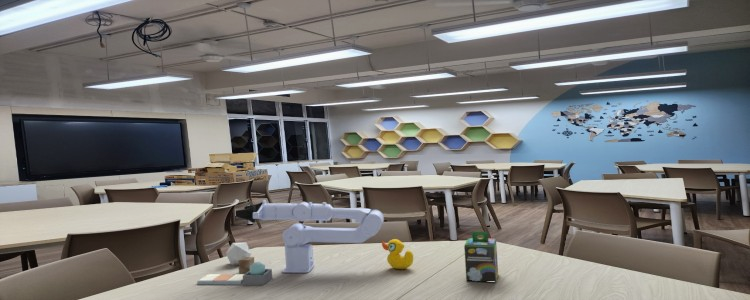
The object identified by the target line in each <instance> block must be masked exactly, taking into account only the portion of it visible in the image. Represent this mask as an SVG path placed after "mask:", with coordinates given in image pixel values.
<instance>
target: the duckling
mask: <svg viewBox="0 0 750 300" xmlns="http://www.w3.org/2000/svg"><path fill="white" fill-rule="evenodd" d="M381 246H382V248H383V249H384V250H385V251H388V252H389V254H388V255H387V259H386V260H387V263H388V264H389V266H390V267H392V268H394V270H395V269H396V270H406V269H408V268H410V267H411V266H412V265H413V262H414V254H413V252H412V251H411V250H406V251H405V252H404V256H402V255H401V253H402V252H403V250H404V248H405V244H404V243H403V242H402V241H401V240H399V239H397V238H393V239H391V240H389V241H388V242H387V243H386V242H385V241H382V242H381Z"/></svg>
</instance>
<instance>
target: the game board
mask: <svg viewBox="0 0 750 300" xmlns="http://www.w3.org/2000/svg"><path fill="white" fill-rule="evenodd" d="M243 275H244V274H239V273H238V274H237V273H236V274H234V273H228V274H227V273H224V274H223V273H222V274H220V273H217V274H215V273H214V274H213V273H209V274H206V275H205V276H203V277H201V278H200V279H198V280H197V281H196V283H197V285H242V284H243Z"/></svg>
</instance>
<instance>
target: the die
mask: <svg viewBox="0 0 750 300" xmlns="http://www.w3.org/2000/svg"><path fill="white" fill-rule="evenodd" d="M225 255H226V257H227V259H228V261H229V263H230V265H231V266H239V262H238V260H239V259H241V258H243V257H251V255H252V252H251V249H250V248H249V245H248V243H247V242H246V241H245V242H244V241H243V242H232V243H231V245H230V246H229V247H228V249H227V250H226V252H225Z"/></svg>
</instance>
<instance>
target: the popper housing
mask: <svg viewBox="0 0 750 300" xmlns="http://www.w3.org/2000/svg"><path fill="white" fill-rule="evenodd" d="M272 279H273V269H272V268H265V273H264V274H263V275H250V271H248V272H247V273H246V274H244V275H243V283H242V284H243V285H244V286H264V285H266V284H267V283H268V282H269V281H271V280H272Z"/></svg>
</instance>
